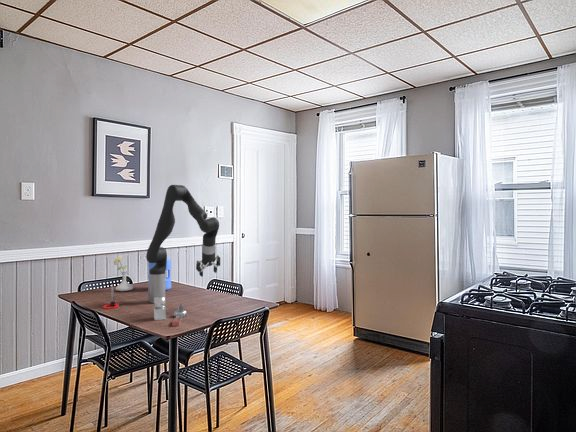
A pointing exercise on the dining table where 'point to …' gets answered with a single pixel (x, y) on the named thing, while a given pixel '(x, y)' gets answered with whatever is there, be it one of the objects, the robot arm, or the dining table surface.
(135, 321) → the dining table surface
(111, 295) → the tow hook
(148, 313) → the dining table surface
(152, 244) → the robot arm
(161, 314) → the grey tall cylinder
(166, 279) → the water jug
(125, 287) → the flower in vase
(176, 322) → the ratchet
